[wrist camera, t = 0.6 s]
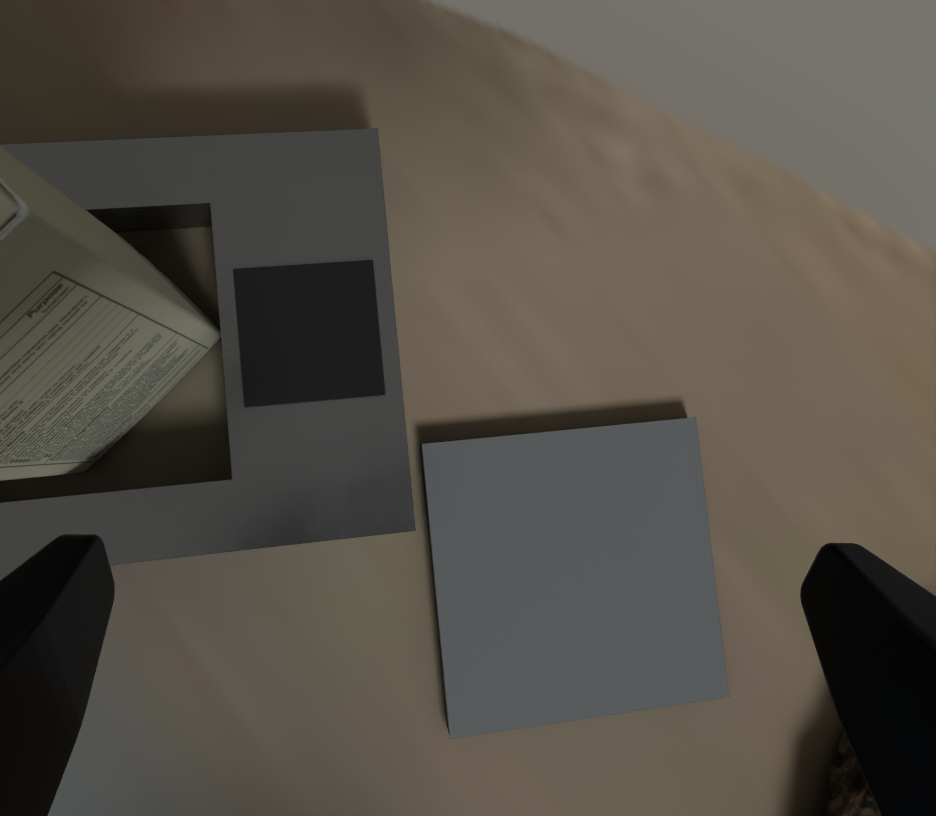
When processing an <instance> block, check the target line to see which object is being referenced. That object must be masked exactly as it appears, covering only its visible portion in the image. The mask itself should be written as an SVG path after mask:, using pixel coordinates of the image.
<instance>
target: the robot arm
mask: <svg viewBox="0 0 936 816" xmlns="http://www.w3.org/2000/svg"><path fill="white" fill-rule="evenodd" d="M114 592H115V587H114V580H113V576H112V572H111V568H110V565H109V561H108V557H107V553H106V550H105V546H104V543H103V540H102V539H101V538H100V537H99V536H98V535H95V534H63V535H61V536H58V537H57V538H55V539H54V540H52V541H51V542H50V543H48V544H47V545H46V546H45V547H43V548H42V549H41V550H39V551H38V552H37V553H35V554H34V555H33V556H32V557H30V558H29V559H28V560H26V561H25V562H24V563H22V564H21V565H20V566H18V567H17V568H16V569H15V570H13V571H12V572H11V573H9V574H8V575H7V576H5V577H4V578H3V579H2V580H0V816H48V813H49V811H50V808H51V805H52V803H53V800H54V797H55V795H56V792H57V790H58V787H59V784H60V782H61V779H62V776H63V774H64V771H65V768H66V766H67V763H68V761H69V758H70V755H71V753H72V750H73V747H74V745H75V742H76V739H77V736H78V733H79V730H80V728H81V725H82V721H83V717H84V714H85V710H86V707H87V703H88V699H89V695H90V691H91V687H92V684H93V680H94V676H95V672H96V668H97V664H98V660H99V656H100V652H101V648H102V644H103V640H104V637H105V633H106V629H107V625H108V621H109V617H110V613H111V609H112V605H113V601H114ZM800 597H801V603H802V607H803V610H804V613H805V616H806V619H807V623H808V626H809V629H810V632H811V635H812V638H813V641H814V644H815V648H816V651H817V654H818V657H819V660H820V663H821V666H822V669H823V673H824V676H825V679H826V682H827V685H828V688H829V691H830V694H831V697H832V700H833V703H834V706H835V709H836V711H837V714H838V716H839V719H840V721H841V724H842V726H843V729H844V731H845V734H846V736H847V738H848V740H849V743H850V745H851V747H852V750H853V752H854V754H855V757H856V759H857V761H858V764H859V766H860V768H861V770H862V773H863V775H864V777H865V780H866V782H867V784H868V787H869V789H870V791H871V793H872V796H873V798H874V800H875V803H876V805H877V807H878V810H879V812H880V814H881V816H936V596H935V595H933V594H932V593H930V592H929V591H927V590H926V589H924V588H923V587H921V586H920V585H918V584H917V583H915V582H914V581H912V580H911V579H909V578H908V577H906V576H905V575H904V574H902V573H901V572H899V571H898V570H896V569H895V568H893V567H892V566H890V565H889V564H887V563H886V562H884V561H883V560H881V559H880V558H878V557H877V556H875V555H874V554H873V553H871V552H870V551H868V550H867V549H865V548H864V547H862V546H860V545H858V544H854V543H828V544H825V545H824V546H823V547H821V549H820V550H819V552H818V554H817V556H816V558H815V560H814V562H813V563H812V565H811V567H810V569H809V571H808V573H807V575H806V577H805V579H804V581H803V583H802V586H801V594H800Z"/></svg>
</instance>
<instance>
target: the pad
mask: <svg viewBox="0 0 936 816" xmlns="http://www.w3.org/2000/svg"><path fill="white" fill-rule="evenodd" d="M421 450H422V461H423V471H424V482H425V492H426V503H427V513H428V524H429V534H430V545H431V555H432V566H433V576H434V587H435V597H436V607H437V618H438V628H439V639H440V649H441V660H442V670H443V681H444V691H445V702H446V712H447V723H448V732H449V736H450V739H452V738H458V737H465V736H472V735H478V734H485V733H492V732H499V731H505V730H512V729H519V728H525V727H532V726H539V725H545V724H552V723H559V722H565V721H572V720H579V719H585V718H592V717H599V716H606V715H612V714H619V713H626V712H632V711H639V710H646V709H652V708H659V707H666V706H672V705H679V704H686V703H693V702H699V701H706V700H713V699H719V698H726V697H729V692H728V683H727V675H726V667H725V658H724V650H723V641H722V633H721V624H720V616H719V607H718V599H717V591H716V582H715V574H714V565H713V557H712V548H711V540H710V532H709V523H708V515H707V506H706V498H705V489H704V481H703V472H702V464H701V456H700V447H699V439H698V430H697V422H696V417H693V418H683V419H673V420H662V421H652V422H642V423H632V424H621V425H611V426H601V427H591V428H580V429H570V430H560V431H550V432H540V433H529V434H519V435H509V436H499V437H488V438H478V439H468V440H458V441H447V442H437V443H427V444H421Z"/></svg>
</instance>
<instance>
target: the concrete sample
mask: <svg viewBox="0 0 936 816" xmlns="http://www.w3.org/2000/svg"><path fill="white" fill-rule="evenodd" d="M838 752H839V755H840V757H839V758H838V760H837V762H836V763H835V764H833V765H832V766H831V767H829V768H828V774H827V777H828V782H829V803H828V806H827V809H826V810H824V812H823V813H821V815H820V816H881V814H880V812H879V810H878V807H877V805H876V803H875V800H874V798H873V796H872V793H871V791H870V789H869V787H868V784H867V782H866V780H865V777H864V775H863V773H862V770H861V768H860V766H859V764H858V761H857V759H856V757H855V754H854V752H853V750H852V747H851V745H850V743H849V740H848V738H847V736H846V734H845V732H844V733H843V734H842V736H841V738H840V741H839V743H838Z"/></svg>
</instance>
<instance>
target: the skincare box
mask: <svg viewBox="0 0 936 816" xmlns="http://www.w3.org/2000/svg"><path fill="white" fill-rule="evenodd" d="M220 337H221V331H220V330H219V329H218V328H217V327H216V325H215V324H214V323H213V322H212V321H211V320H210V319H209V318H208V317H207V316H206V315H205V314H204V313H203V312H202V311H201V310H200V309H199V308H198V307H197V306H196V305H195V304H194V303H193V302H192V301H191V300H190V299H189V298H188V297H187V296H186V295H185V294H184V293H183V292H182V291H181V290H180V289H179V288H178V287H177V286H176V285H175V284H174V283H173V282H172V281H171V280H170V279H169V278H167V277H166V276H165V275H164V274H163V273H162V272H161V271H160V270H159V269H158V268H157V267H156V266H154V265H153V264H152V263H151V262H150V261H149V260H148V259H147V258H146V257H145V256H143V255H142V254H141V253H140V252H139V251H138V250H136V249H135V248H134V247H133V246H132V245H131V244H130V243H128V242H127V241H126V240H124V239H123V238H122V237H120V236H119V235H118V234H116V233H115V232H114V231H112V230H111V229H110V228H108V227H107V226H106V225H104V224H103V223H102V222H101V221H99V220H98V219H97V218H95V217H94V216H93V215H91V214H90V213H89V212H88V211H86V210H85V209H84V208H82V207H81V206H79V205H78V204H77V203H75V202H74V201H73V200H71V199H70V198H69V197H67V196H66V195H65V194H63V193H62V192H61V191H60V190H58V189H57V188H56V187H54V186H53V185H52V184H50V183H49V182H48V181H46V180H45V179H44V178H42V177H41V176H40V175H38V174H37V173H36V172H35V171H33V170H32V169H31V168H29V167H28V166H27V165H25V164H24V163H23V162H22V161H20V160H19V159H18V158H16V157H15V156H14V155H12V154H11V153H10V152H9V151H7V150H6V149H5V148H3V147H2V146H1V145H0V481H1V480H12V479H22V478H32V477H43V476H55V475H63V474H74V473H82V472H84V471H86V470H87V469H88V468H89V467H90V466H91V465H93V464H94V463H95V462H96V461H97V460H98V459H99V458H100V457H101V456H102V455H103V454H105V453H106V452H107V451H108V450H109V449H110V448H111V447H112V446H113V445H114V444H115V443H116V442H117V441H118V440H120V439H121V438H122V437H123V436H124V435H125V434H126V433H127V432H128V431H129V430H130V429H131V428H132V427H133V426H134V425H135V424H136V423H137V422H138V421H139V420H140V419H142V418H143V417H144V416H145V415H146V414H147V413H148V412H149V411H150V410H151V409H152V408H153V407H154V406H155V405H156V404H157V403H158V402H159V401H160V400H161V399H162V398H163V397H164V396H165V395H166V394H167V393H168V392H169V391H170V390H171V389H172V388H173V387H174V386H175V385H176V384H177V383H178V382H179V381H180V380H181V379H182V378H183V377H184V376H185V374H186V373H187V372H188V371H189V370H190V369H191V368H192V367H193V366H194V365H195V364H196V363H197V362H198V361H199V360H200V359H201V358H202V357H203V356H204V355H205V354H206V353H207V351H208V350H209V349H210V348H211V347H212V346H213V345H214V344H215V343H216V342H217V341H218V340H219V339H220Z"/></svg>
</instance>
